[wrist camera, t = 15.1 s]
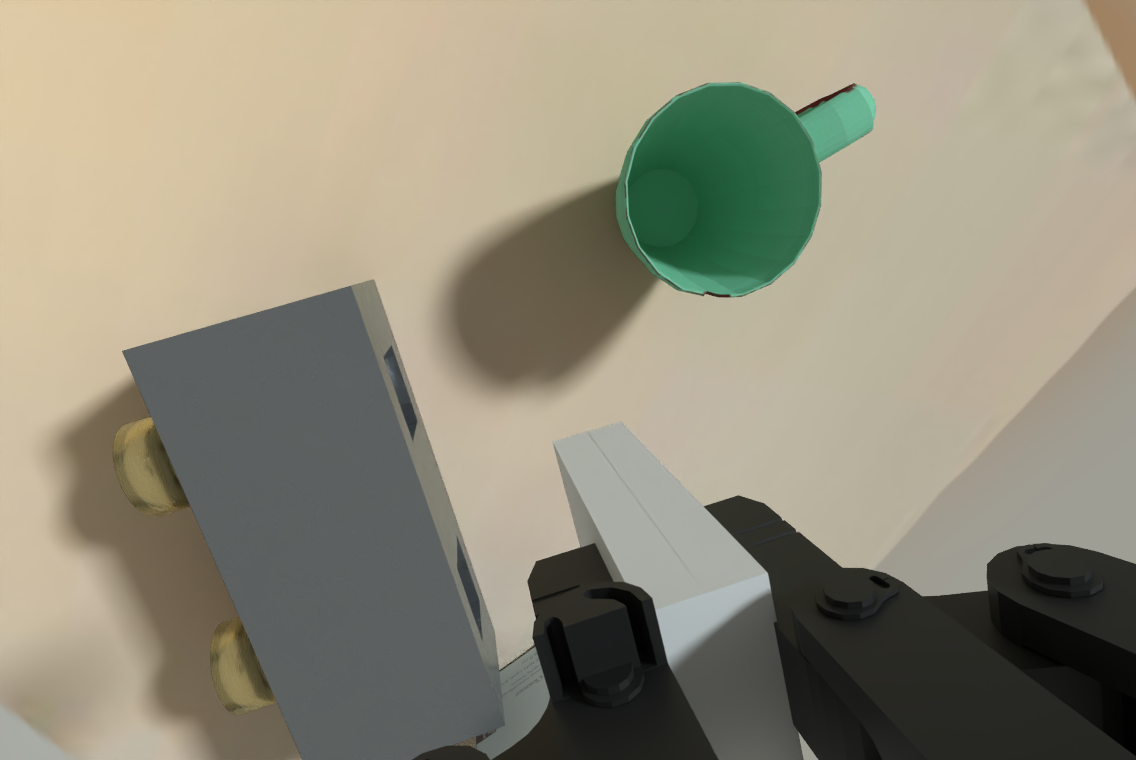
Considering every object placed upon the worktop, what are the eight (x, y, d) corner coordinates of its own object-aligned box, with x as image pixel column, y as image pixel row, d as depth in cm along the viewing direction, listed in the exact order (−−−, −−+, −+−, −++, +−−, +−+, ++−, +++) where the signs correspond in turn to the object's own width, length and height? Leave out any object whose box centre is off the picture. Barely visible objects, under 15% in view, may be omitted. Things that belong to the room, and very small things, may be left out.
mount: (199, 329, 37) (122, 350, 28) (373, 279, 38) (350, 285, 29) (345, 684, 42) (317, 795, 34) (494, 631, 43) (505, 725, 35)
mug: (630, 318, 41) (686, 337, 31) (551, 177, 39) (584, 150, 29) (823, 199, 42) (935, 181, 32) (757, 52, 40) (857, -14, 30)
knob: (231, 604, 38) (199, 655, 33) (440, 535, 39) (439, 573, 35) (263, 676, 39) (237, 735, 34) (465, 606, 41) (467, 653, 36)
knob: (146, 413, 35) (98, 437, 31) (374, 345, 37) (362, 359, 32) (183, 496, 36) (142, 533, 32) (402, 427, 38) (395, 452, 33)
